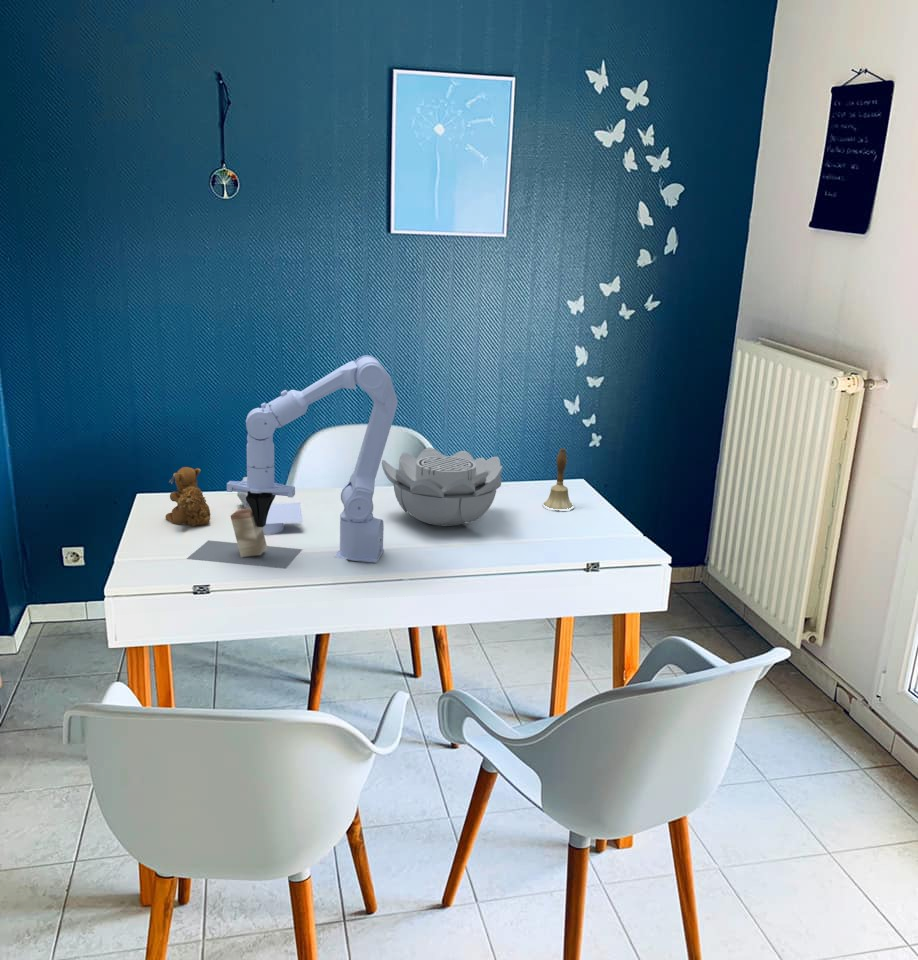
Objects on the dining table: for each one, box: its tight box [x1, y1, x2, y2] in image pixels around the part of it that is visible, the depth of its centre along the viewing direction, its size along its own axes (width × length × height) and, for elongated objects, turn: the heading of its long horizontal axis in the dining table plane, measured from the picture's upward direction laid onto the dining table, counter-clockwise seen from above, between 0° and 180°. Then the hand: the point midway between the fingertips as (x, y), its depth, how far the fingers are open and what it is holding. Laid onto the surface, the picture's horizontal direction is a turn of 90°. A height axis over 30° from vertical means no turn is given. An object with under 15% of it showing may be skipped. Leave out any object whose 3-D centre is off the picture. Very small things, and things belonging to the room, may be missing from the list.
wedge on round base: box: [262, 502, 304, 536], centre depth 224 cm, size 9×7×13 cm
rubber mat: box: [186, 540, 303, 569], centre depth 208 cm, size 22×12×1 cm, turn 82°
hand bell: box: [543, 448, 574, 509], centre depth 251 cm, size 8×8×16 cm
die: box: [236, 476, 250, 509], centre depth 241 cm, size 8×9×10 cm
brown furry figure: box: [165, 466, 212, 528], centre depth 226 cm, size 10×14×13 cm
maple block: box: [230, 508, 268, 557], centre depth 206 cm, size 4×4×10 cm
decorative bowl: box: [381, 447, 503, 527], centre depth 236 cm, size 30×30×15 cm
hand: (261, 525), depth 206 cm, fingers closed
